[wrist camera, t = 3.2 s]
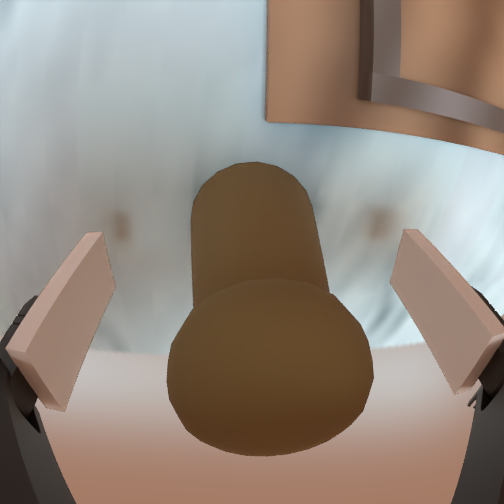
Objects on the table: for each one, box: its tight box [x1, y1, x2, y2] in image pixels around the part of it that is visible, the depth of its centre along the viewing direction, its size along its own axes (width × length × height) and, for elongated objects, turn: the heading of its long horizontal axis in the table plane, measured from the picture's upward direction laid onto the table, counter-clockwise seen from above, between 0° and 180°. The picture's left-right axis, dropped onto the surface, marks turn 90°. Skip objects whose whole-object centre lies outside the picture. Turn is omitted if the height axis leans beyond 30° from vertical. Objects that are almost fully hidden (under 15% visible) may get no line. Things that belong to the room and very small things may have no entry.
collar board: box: [265, 0, 504, 155], centre depth 9 cm, size 21×16×2 cm
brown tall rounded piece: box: [167, 162, 374, 456], centre depth 11 cm, size 6×6×11 cm
